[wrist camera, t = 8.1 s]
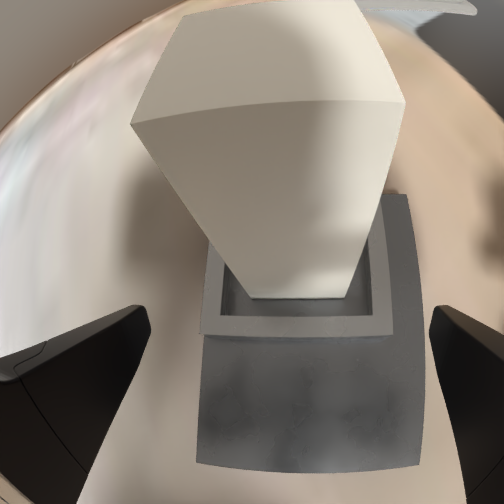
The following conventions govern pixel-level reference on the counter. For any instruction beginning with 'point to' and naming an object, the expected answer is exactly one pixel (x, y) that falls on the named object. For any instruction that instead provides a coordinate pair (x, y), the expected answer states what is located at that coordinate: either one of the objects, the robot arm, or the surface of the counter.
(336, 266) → the cream rectangular prism
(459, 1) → the wireless router
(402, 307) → the bracket plate
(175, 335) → the counter surface
